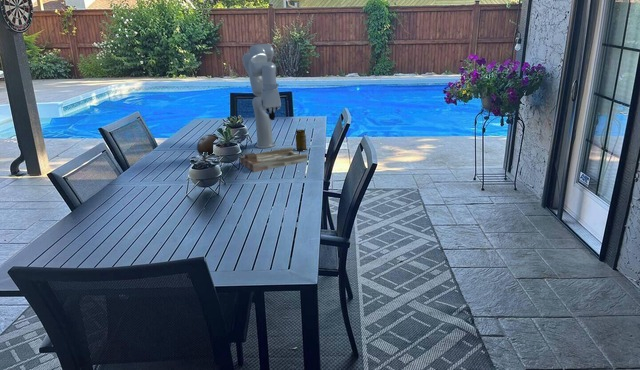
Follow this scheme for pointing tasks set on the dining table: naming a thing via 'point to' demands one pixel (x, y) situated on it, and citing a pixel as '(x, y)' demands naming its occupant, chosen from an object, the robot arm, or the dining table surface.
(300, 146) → the condiment
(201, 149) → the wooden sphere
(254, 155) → the walnut block
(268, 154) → the trap track
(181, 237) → the dining table surface
